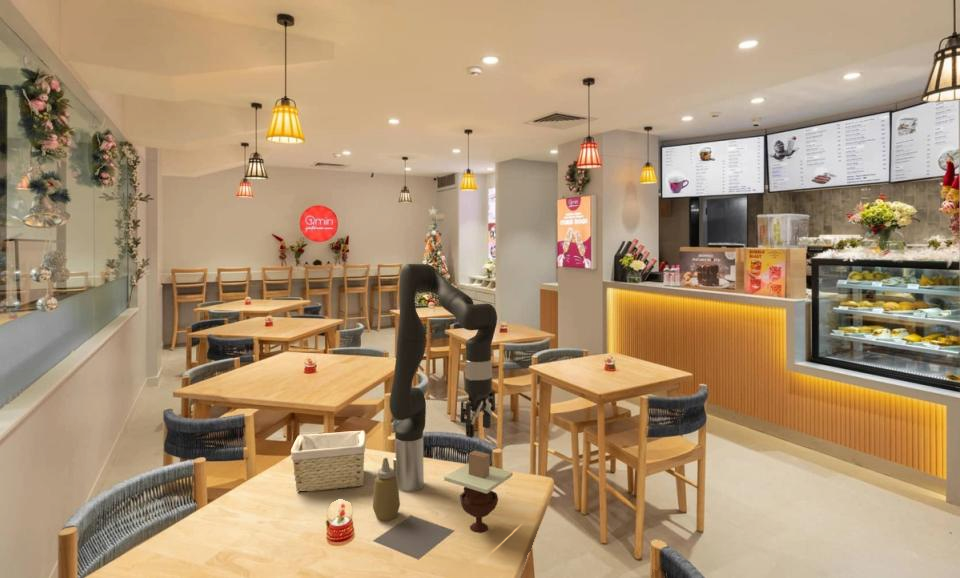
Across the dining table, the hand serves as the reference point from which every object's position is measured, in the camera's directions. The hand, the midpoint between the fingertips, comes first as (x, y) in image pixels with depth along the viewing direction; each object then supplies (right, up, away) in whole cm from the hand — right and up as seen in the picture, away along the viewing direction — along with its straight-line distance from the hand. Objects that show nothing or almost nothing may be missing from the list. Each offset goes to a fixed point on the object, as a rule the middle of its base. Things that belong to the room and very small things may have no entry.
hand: (478, 432), depth 146 cm
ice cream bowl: (0, -29, +2) cm, 29 cm away
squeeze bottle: (-28, -28, +9) cm, 40 cm away
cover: (0, -13, +1) cm, 13 cm away
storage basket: (-51, -26, +34) cm, 67 cm away
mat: (-18, -29, -2) cm, 34 cm away
